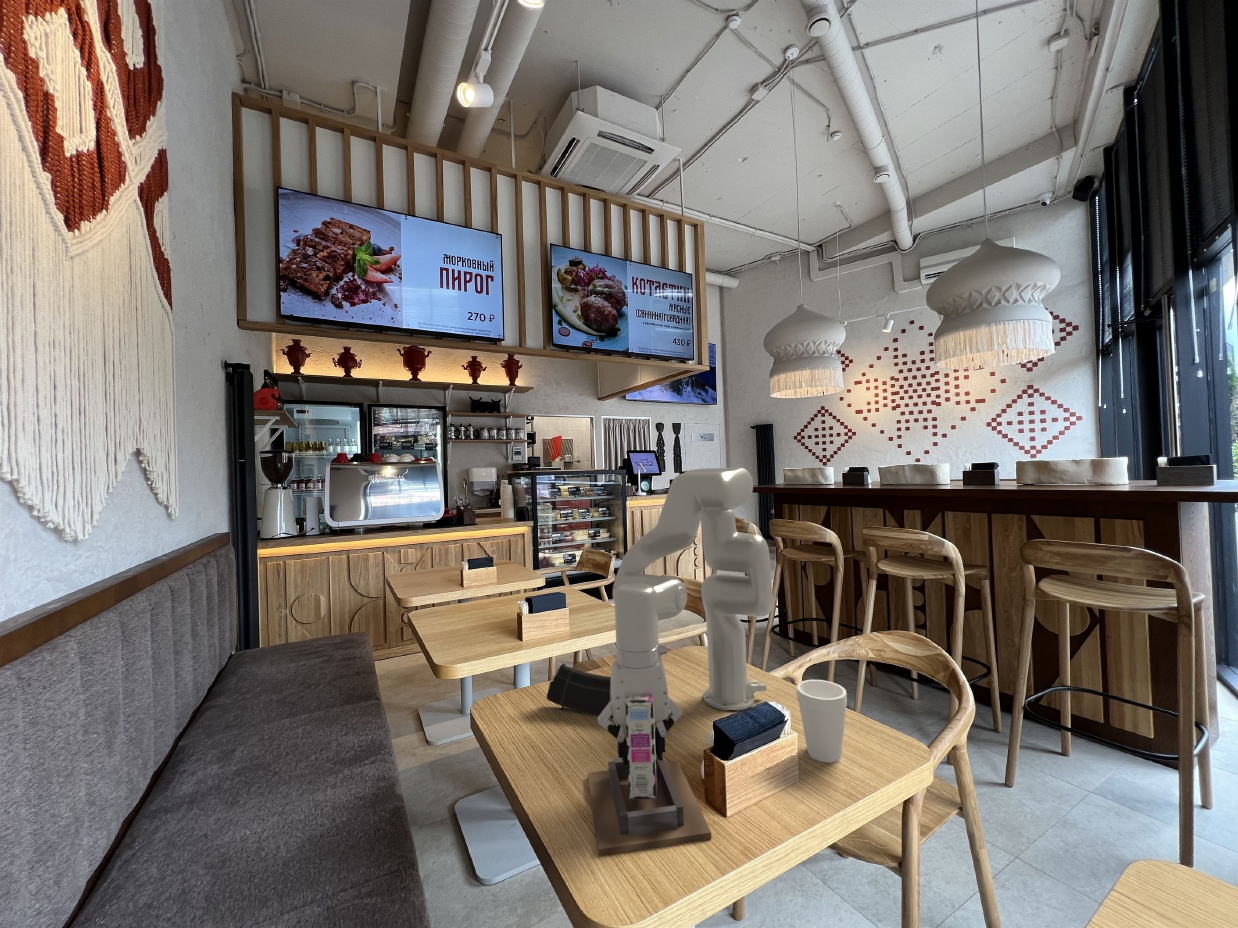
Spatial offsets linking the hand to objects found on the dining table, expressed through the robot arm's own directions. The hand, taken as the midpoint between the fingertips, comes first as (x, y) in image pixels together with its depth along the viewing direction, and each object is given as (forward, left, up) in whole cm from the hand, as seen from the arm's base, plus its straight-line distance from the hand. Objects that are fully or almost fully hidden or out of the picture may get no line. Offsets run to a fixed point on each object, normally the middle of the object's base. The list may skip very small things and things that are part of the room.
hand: (641, 757), depth 88 cm
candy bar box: (0, -1, -5) cm, 5 cm away
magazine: (+2, -35, -9) cm, 36 cm away
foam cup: (-39, -8, -9) cm, 41 cm away
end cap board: (0, 0, -8) cm, 8 cm away
